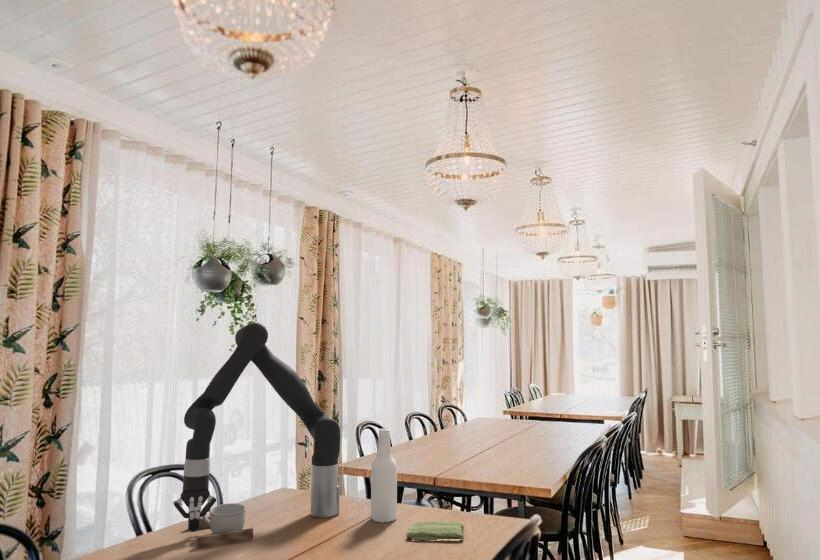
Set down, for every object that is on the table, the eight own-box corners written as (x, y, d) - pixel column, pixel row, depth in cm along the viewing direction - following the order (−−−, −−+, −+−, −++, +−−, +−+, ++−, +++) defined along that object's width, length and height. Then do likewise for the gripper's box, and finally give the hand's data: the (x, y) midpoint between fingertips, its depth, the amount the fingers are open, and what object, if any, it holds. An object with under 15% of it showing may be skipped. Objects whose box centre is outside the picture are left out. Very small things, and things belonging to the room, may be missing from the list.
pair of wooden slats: (238, 521, 192) (238, 512, 192) (253, 539, 175) (253, 529, 175) (187, 529, 184) (188, 519, 185) (197, 548, 167) (198, 538, 167)
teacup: (251, 531, 182) (252, 505, 183) (229, 542, 172) (230, 514, 173) (216, 526, 187) (217, 500, 188) (192, 536, 177) (193, 509, 178)
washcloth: (409, 528, 187) (409, 518, 187) (463, 530, 185) (463, 519, 185) (405, 542, 174) (405, 531, 174) (464, 544, 172) (464, 533, 172)
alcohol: (381, 524, 189) (381, 432, 192) (365, 518, 195) (366, 428, 199) (402, 519, 194) (402, 429, 197) (386, 513, 201) (387, 426, 204)
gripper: (216, 468, 184) (213, 524, 182) (172, 472, 178) (168, 530, 176) (221, 473, 178) (217, 531, 176) (175, 477, 171) (171, 537, 169)
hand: (193, 531), depth 176 cm, fingers closed
